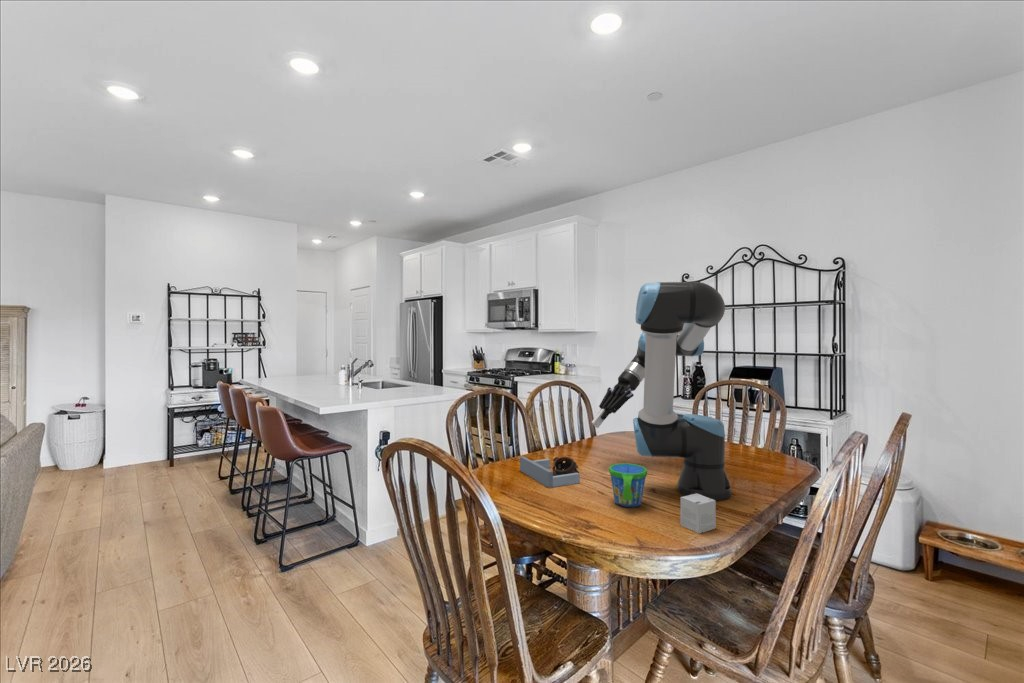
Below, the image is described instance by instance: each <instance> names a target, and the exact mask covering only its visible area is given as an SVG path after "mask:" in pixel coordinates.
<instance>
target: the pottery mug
mask: <svg viewBox="0 0 1024 683" xmlns="http://www.w3.org/2000/svg"><path fill="white" fill-rule="evenodd" d="M551 465H552V466H551V467H552V470H551V471H553V476H558V475H564V474H571V473H579V474H580V471H579V470H578V469H579V466H578V464H577V462H576V461H575V460H574V459H573V458H572V457H570V456H560V457H559V456H555V457H553V460H552V464H551Z"/></svg>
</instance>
